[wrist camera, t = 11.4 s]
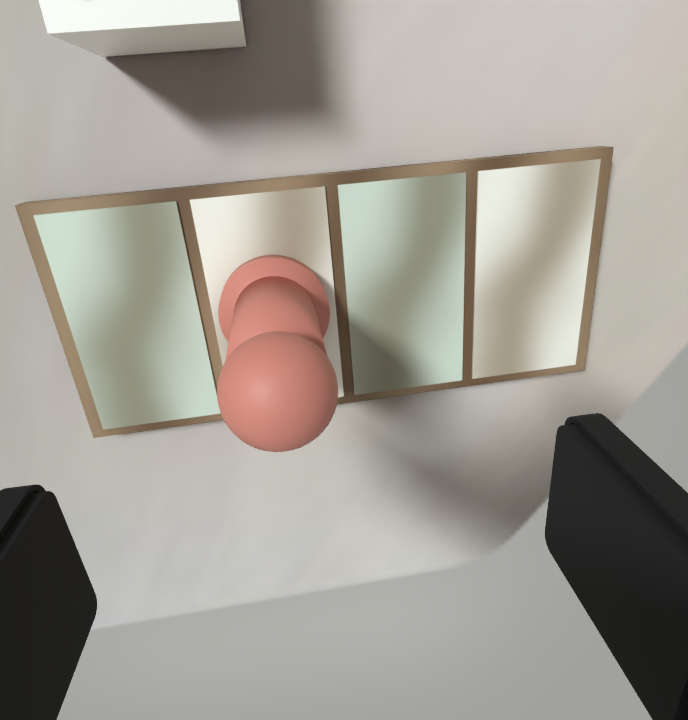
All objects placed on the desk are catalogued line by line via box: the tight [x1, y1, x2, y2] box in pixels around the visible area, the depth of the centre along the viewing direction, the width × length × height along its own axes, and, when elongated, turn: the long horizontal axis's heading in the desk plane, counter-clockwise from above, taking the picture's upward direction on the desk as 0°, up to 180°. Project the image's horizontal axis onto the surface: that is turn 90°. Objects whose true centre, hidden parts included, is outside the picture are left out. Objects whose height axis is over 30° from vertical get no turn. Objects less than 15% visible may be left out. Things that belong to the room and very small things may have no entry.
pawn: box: [217, 255, 338, 452], centre depth 17 cm, size 4×4×9 cm
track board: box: [15, 146, 614, 438], centre depth 22 cm, size 23×10×1 cm, turn 94°
